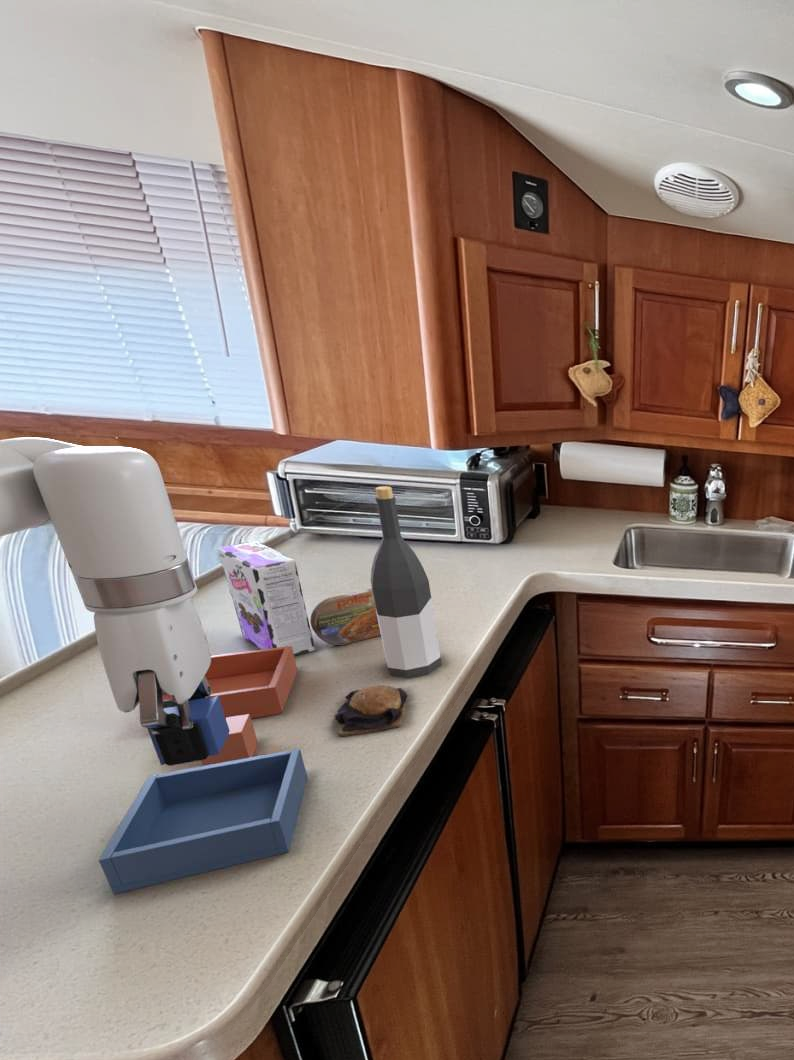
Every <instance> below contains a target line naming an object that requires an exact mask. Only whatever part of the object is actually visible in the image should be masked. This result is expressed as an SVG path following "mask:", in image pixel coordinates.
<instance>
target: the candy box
mask: <svg viewBox="0 0 794 1060" xmlns="http://www.w3.org/2000/svg"><path fill="white" fill-rule="evenodd" d="M217 552H218V555H219V558H220V563H221V565H222V569H223V572H224V575H225V579H226V582H227V586H228V589H229V592H230V596H231V598H232V603H233V606H234V610H235V614H236V617H237V620H238V624H239V627H240V631H241V634H242V637H243V638H244V639H245V640H247V641H249V642H250V643H251V644H253V645H254V646H255V647H257V648H258V649H259V650H262V649H270V648H279V647H286V646H292V649H293V653H294V657H296V656H299V655H304V654H308V653H311V652H314V651H315V650H316V647H315V642H314V638H313V634H312V628H311V624H310V621H309V616H308V612H307V607H306V603H305V598H304V594H303V590H302V585H301V581H300V577H299V576H300V575H299V571H298V567H297V564H296V560H295V559H294V558H292V557H288V556H287V555H285V554H283V553H281V552H279V551H278V550H276V549H274V548H272V547H271V546H269V545H266V544H264V543H262V542H261V541H259V540H253V541H247V542H241V543H237V544H231V545H230V544H229V545H225V546H219V547H217Z"/></svg>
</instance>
